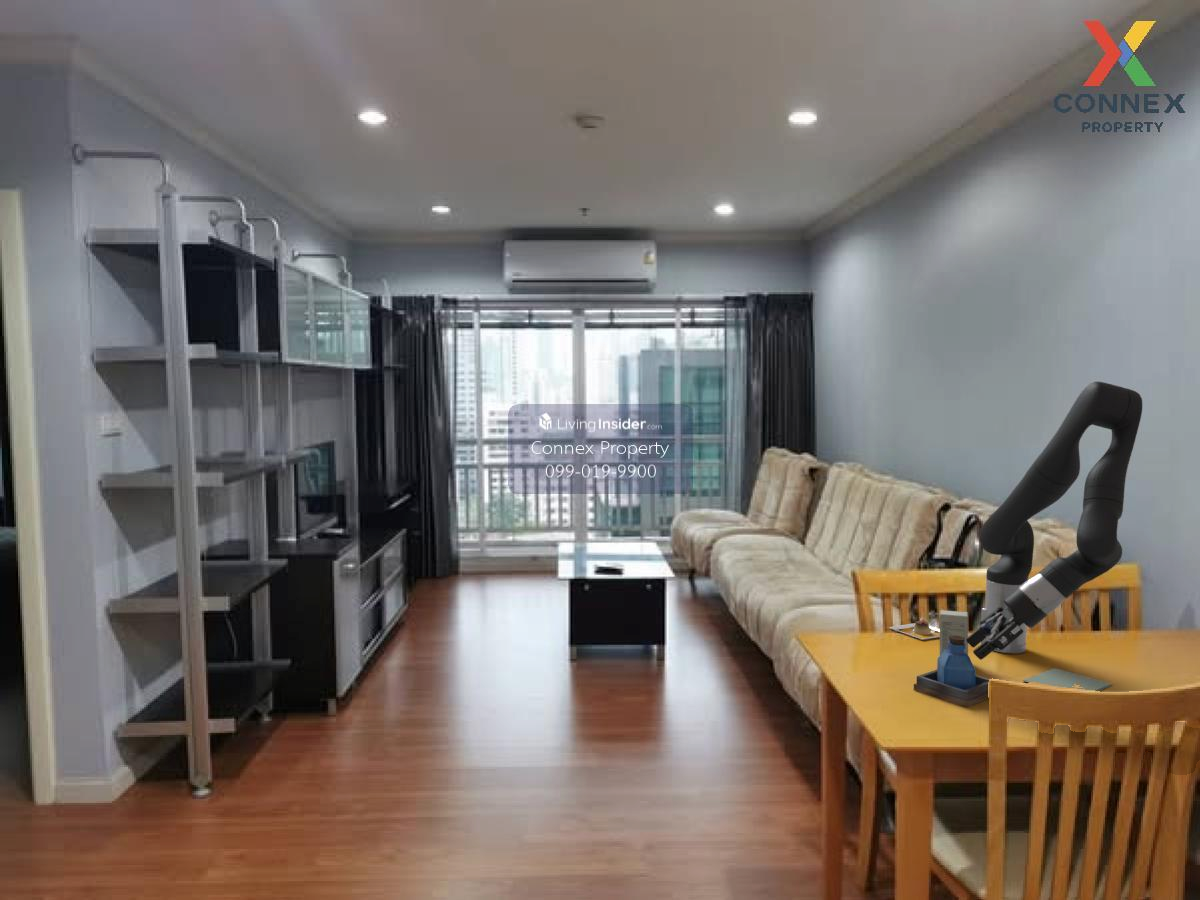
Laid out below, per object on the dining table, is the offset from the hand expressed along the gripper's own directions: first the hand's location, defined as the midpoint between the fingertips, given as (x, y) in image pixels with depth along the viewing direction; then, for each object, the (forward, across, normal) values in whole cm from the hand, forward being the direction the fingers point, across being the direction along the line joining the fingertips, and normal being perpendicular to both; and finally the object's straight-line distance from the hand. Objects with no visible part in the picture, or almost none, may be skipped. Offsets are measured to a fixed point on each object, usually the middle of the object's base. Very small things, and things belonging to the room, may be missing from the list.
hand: (972, 649), depth 167 cm
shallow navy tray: (+9, 0, +4) cm, 10 cm away
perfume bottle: (+9, 0, +5) cm, 10 cm away
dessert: (+10, -45, +4) cm, 46 cm away
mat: (-8, -12, +22) cm, 26 cm away
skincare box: (+7, -20, +6) cm, 23 cm away
